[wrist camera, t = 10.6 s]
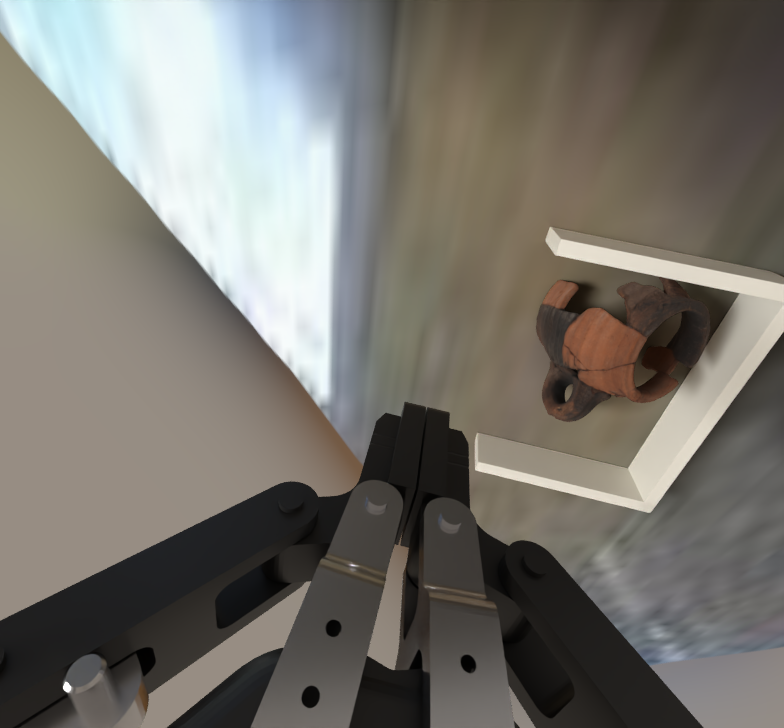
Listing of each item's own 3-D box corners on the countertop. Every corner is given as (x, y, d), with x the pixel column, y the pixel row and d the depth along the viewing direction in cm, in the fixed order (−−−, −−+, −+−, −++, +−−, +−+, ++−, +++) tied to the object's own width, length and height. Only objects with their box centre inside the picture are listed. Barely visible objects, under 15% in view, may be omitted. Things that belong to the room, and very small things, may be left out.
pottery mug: (570, 236, 29) (678, 262, 22) (639, 283, 34) (745, 317, 27) (487, 378, 32) (559, 440, 26) (560, 403, 37) (638, 461, 30)
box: (474, 440, 39) (475, 470, 35) (550, 226, 28) (561, 239, 25) (634, 478, 38) (650, 512, 34) (770, 271, 27) (813, 290, 24)
